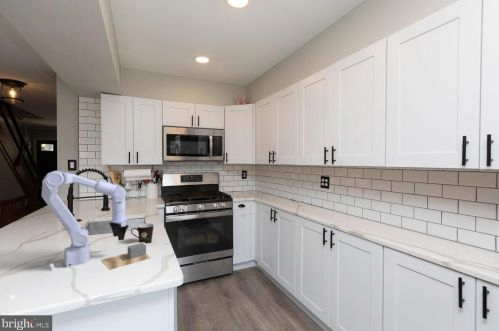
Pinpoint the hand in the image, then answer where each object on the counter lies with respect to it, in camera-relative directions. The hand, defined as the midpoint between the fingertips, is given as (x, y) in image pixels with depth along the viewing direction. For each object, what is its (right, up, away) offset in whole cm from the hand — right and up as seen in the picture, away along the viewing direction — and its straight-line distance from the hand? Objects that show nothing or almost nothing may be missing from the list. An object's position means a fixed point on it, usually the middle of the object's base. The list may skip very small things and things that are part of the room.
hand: (118, 238), depth 116 cm
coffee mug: (+3, -9, +21) cm, 23 cm away
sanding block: (+10, -8, -1) cm, 13 cm away
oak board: (+6, -10, -5) cm, 12 cm away
